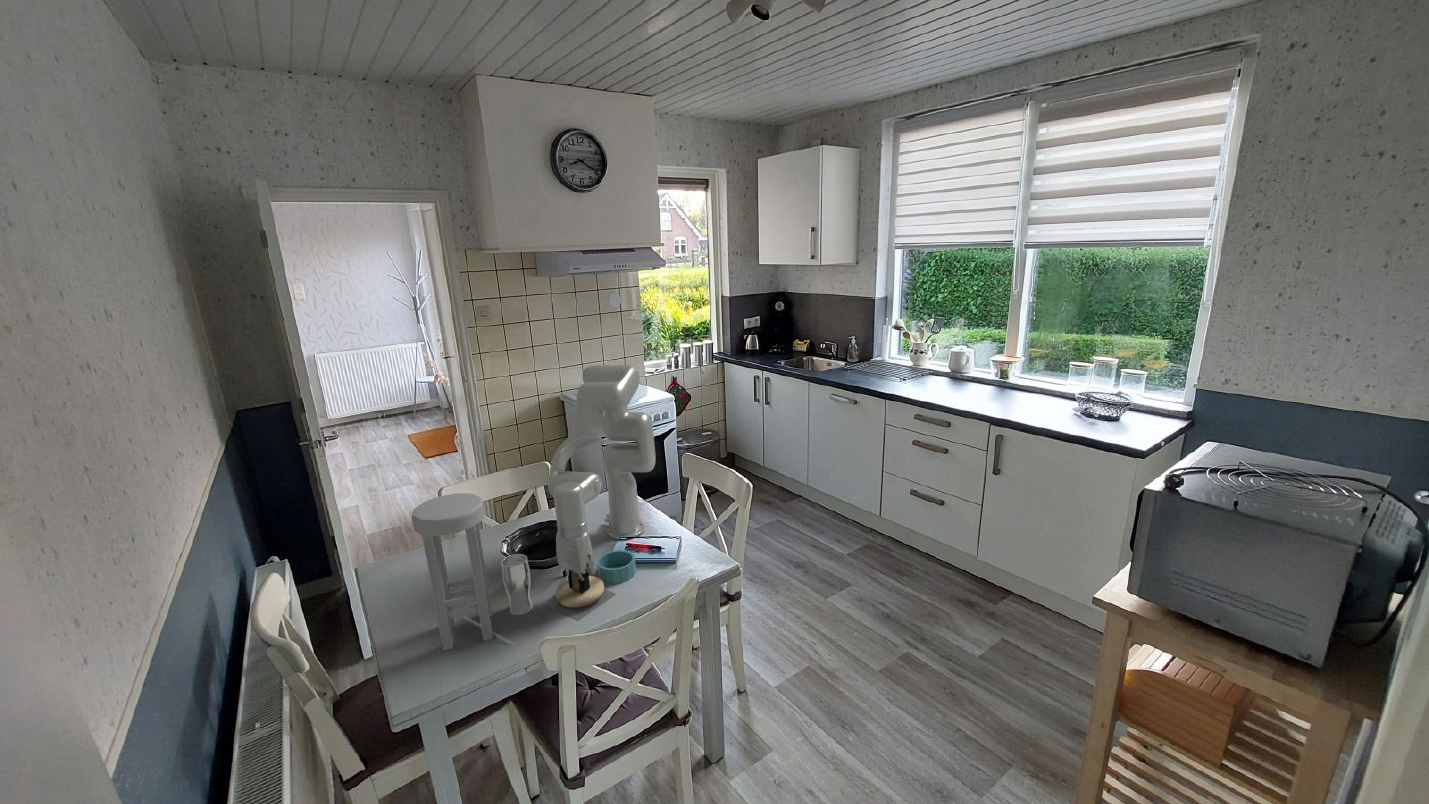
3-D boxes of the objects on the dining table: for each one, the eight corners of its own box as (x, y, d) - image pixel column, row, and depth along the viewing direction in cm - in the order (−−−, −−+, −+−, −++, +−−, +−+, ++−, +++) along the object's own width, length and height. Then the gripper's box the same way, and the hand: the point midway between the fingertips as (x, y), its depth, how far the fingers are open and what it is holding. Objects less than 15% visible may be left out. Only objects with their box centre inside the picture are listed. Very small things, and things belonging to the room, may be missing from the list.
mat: (543, 605, 158) (543, 603, 158) (581, 581, 169) (581, 579, 169) (578, 622, 150) (578, 620, 150) (616, 596, 161) (616, 594, 161)
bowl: (590, 578, 171) (589, 563, 169) (617, 561, 179) (615, 546, 178) (617, 589, 164) (616, 573, 163) (643, 571, 173) (642, 556, 172)
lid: (545, 597, 158) (543, 577, 157) (581, 574, 168) (579, 555, 167) (578, 613, 151) (576, 592, 149) (614, 588, 161) (612, 568, 160)
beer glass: (527, 599, 161) (520, 550, 158) (539, 609, 157) (532, 559, 153) (503, 610, 157) (495, 560, 153) (515, 621, 152) (507, 570, 148)
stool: (501, 641, 144) (481, 512, 135) (433, 658, 139) (407, 525, 130) (500, 607, 158) (482, 488, 149) (438, 621, 153) (415, 499, 144)
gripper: (540, 526, 156) (549, 585, 161) (583, 542, 147) (590, 605, 152) (562, 515, 162) (569, 573, 167) (604, 529, 153) (611, 590, 158)
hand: (579, 587), depth 159 cm, fingers closed on lid, 3 cm apart
